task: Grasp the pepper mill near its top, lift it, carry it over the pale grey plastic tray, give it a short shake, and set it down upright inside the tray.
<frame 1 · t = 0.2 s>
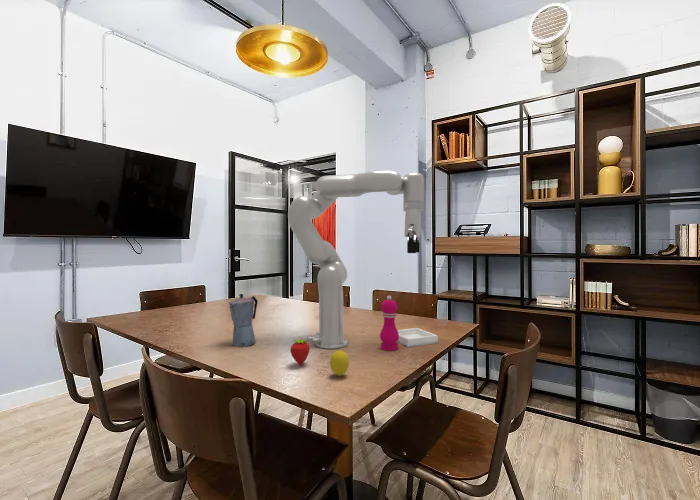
hand: (413, 252, 133), 36 cm above the table, tool pointing down, fingers open, 9 cm apart
pepper mill: (389, 348, 134), on the table
tray: (412, 340, 145), on the table
moka pot: (244, 344, 141), on the table
lemon: (339, 376, 106), on the table
strawberry: (300, 366, 116), on the table
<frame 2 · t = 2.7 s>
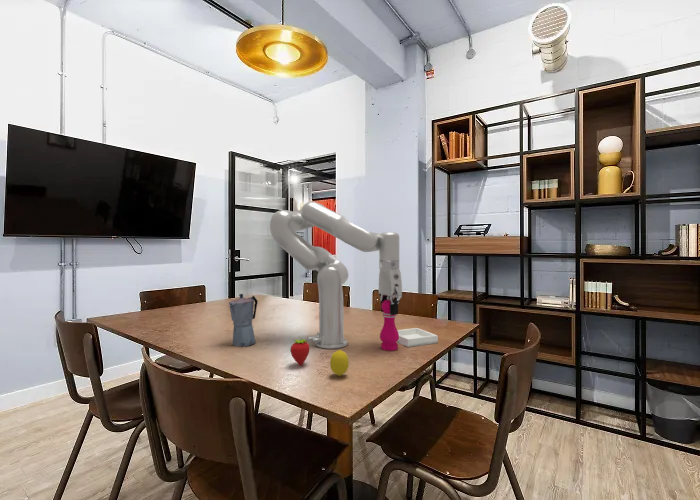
hand: (389, 312, 134), 14 cm above the table, tool pointing down, fingers closed on pepper mill, 6 cm apart
pepper mill: (389, 348, 134), on the table, touching gripper
everything else where it was.
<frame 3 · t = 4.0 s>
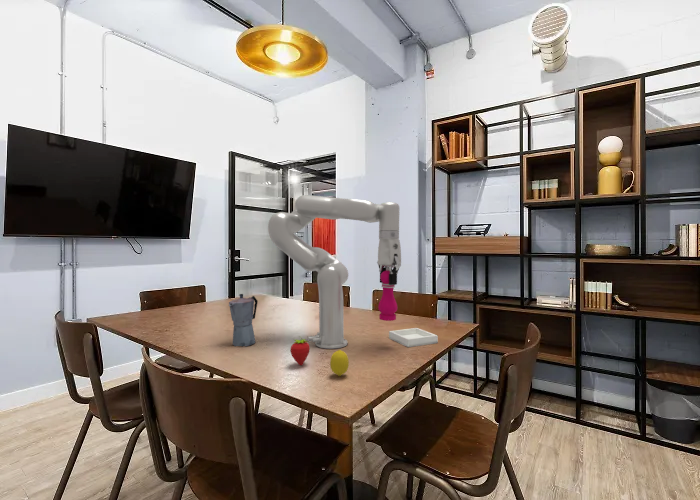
hand: (388, 283, 134), 25 cm above the table, tool pointing down, fingers closed on pepper mill, 5 cm apart
pepper mill: (387, 319, 134), point 11 cm above the table, touching gripper
everything else where it was.
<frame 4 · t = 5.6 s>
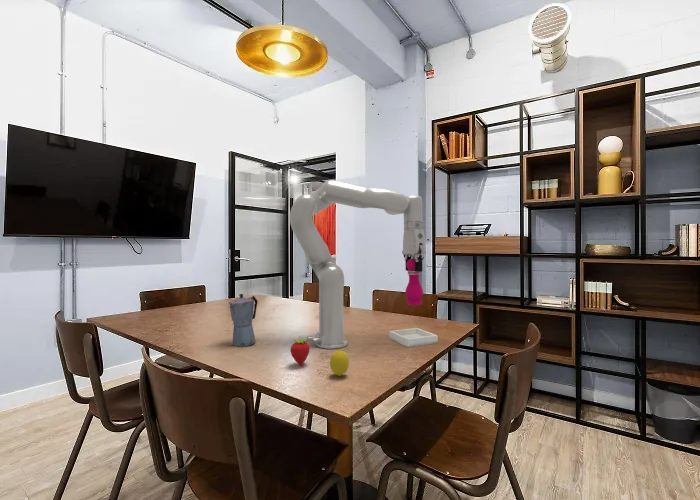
hand: (413, 270, 144), 29 cm above the table, tool pointing down, fingers closed on pepper mill, 5 cm apart
pepper mill: (414, 304, 145), point 15 cm above the table, touching gripper
everything else where it was.
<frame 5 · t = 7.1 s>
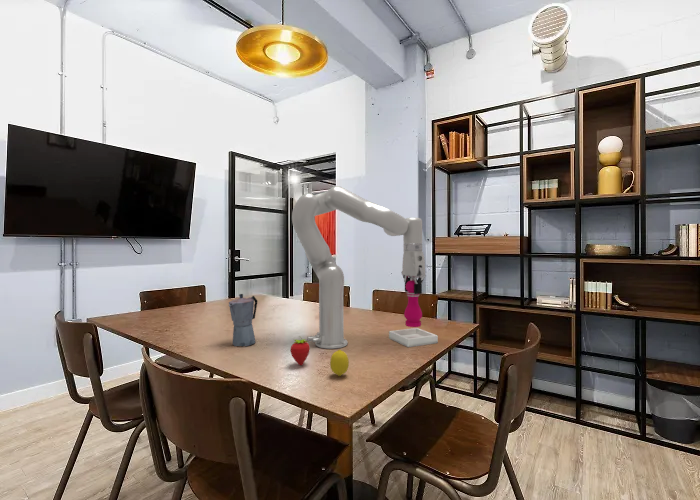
hand: (413, 292, 144), 20 cm above the table, tool pointing down, fingers closed on pepper mill, 5 cm apart
pepper mill: (413, 325, 145), point 6 cm above the table, touching gripper
everything else where it was.
when the fingers open (15 cm above the table, at t = 8.4 s): pepper mill stays where it is, resting on tray.
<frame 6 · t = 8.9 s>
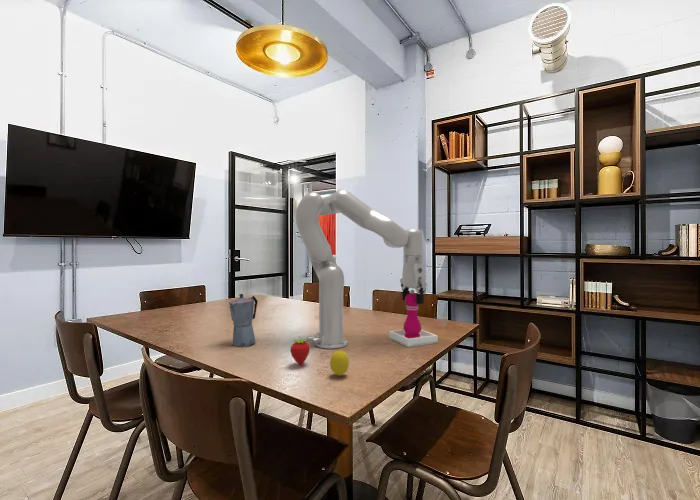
hand: (412, 301, 144), 16 cm above the table, tool pointing down, fingers open, 9 cm apart
pepper mill: (412, 339, 145), point 1 cm above the table, touching tray
everything else where it was.
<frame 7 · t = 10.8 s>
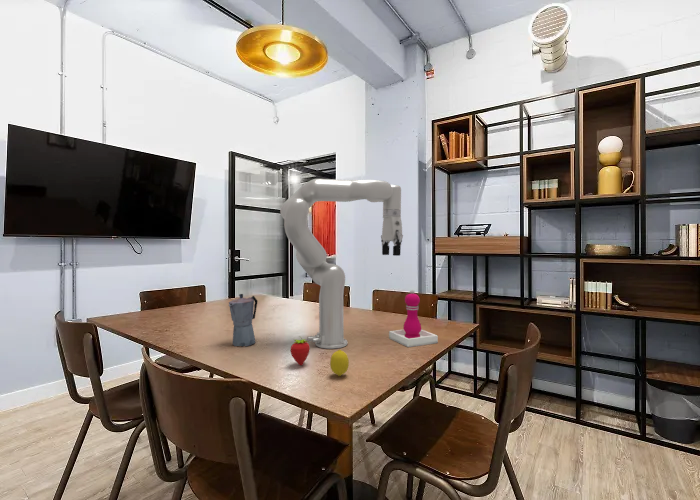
hand: (390, 255, 151), 35 cm above the table, tool pointing down, fingers open, 9 cm apart
nothing on the table moved.
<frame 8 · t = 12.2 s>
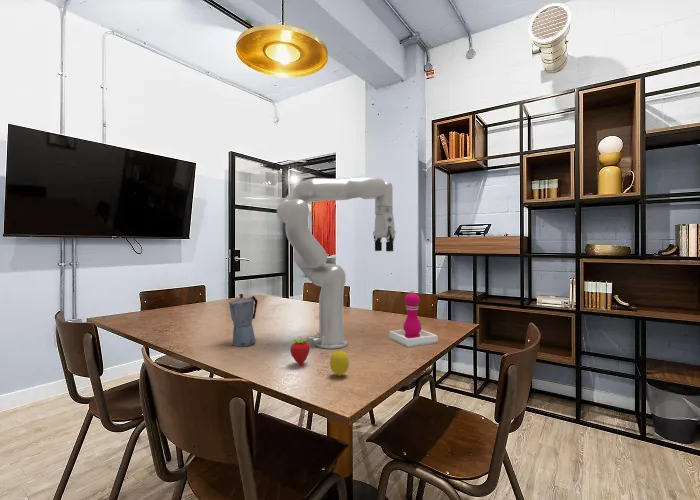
hand: (383, 251, 153), 36 cm above the table, tool pointing down, fingers open, 9 cm apart
nothing on the table moved.
at the end: pepper mill inside the target area on the tray (0.2 cm from its centre), point 0.6 cm above the tray's base; pepper mill tilted 0°; the gripper is holding nothing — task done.
